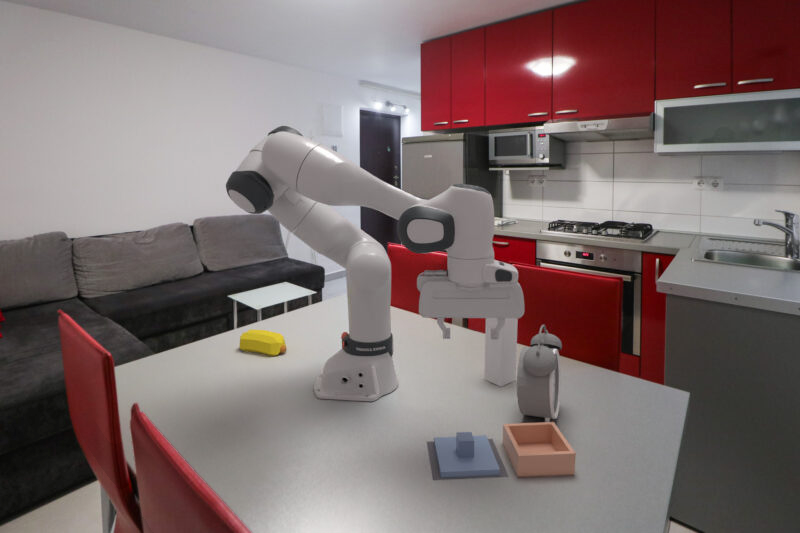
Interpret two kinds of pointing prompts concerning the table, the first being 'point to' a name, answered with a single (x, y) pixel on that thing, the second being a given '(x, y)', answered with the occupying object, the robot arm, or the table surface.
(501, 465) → the mat
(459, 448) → the lid
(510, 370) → the milk
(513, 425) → the dish
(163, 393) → the table surface
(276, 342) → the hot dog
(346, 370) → the robot arm
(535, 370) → the alarm clock
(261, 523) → the table surface
